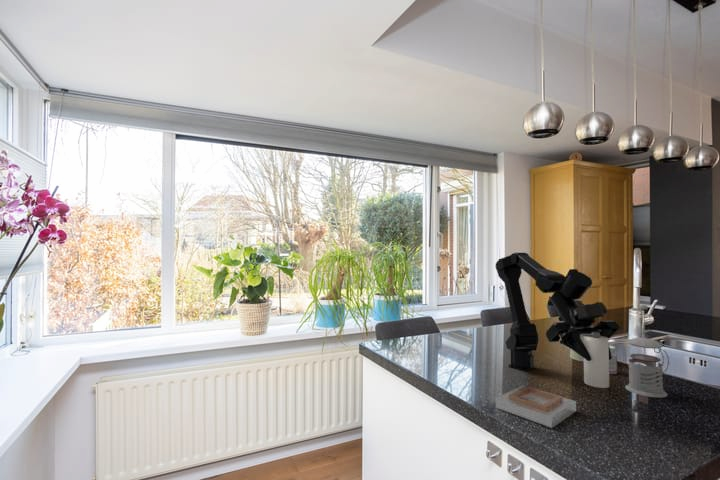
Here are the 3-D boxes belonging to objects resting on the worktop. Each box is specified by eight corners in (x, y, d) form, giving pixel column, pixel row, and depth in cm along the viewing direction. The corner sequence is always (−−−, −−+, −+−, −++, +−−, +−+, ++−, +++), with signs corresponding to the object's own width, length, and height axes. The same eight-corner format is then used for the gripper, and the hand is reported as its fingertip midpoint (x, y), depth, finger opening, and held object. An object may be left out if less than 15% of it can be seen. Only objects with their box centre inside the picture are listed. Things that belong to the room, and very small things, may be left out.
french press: (616, 385, 110) (614, 302, 111) (652, 383, 111) (650, 302, 112) (644, 398, 100) (642, 307, 101) (683, 396, 101) (680, 306, 102)
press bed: (496, 407, 94) (495, 394, 95) (522, 394, 103) (522, 381, 103) (551, 428, 84) (551, 412, 84) (576, 411, 92) (575, 397, 93)
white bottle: (580, 383, 94) (579, 332, 95) (588, 378, 98) (588, 329, 98) (604, 389, 90) (603, 336, 90) (612, 384, 94) (611, 333, 94)
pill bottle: (620, 374, 119) (619, 348, 120) (604, 373, 120) (603, 348, 120) (613, 369, 124) (612, 345, 124) (597, 369, 125) (597, 344, 125)
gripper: (552, 292, 97) (584, 344, 86) (613, 291, 100) (652, 341, 89) (534, 316, 105) (561, 367, 93) (591, 314, 107) (625, 363, 96)
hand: (600, 359), depth 93 cm, fingers closed on white bottle, 5 cm apart
